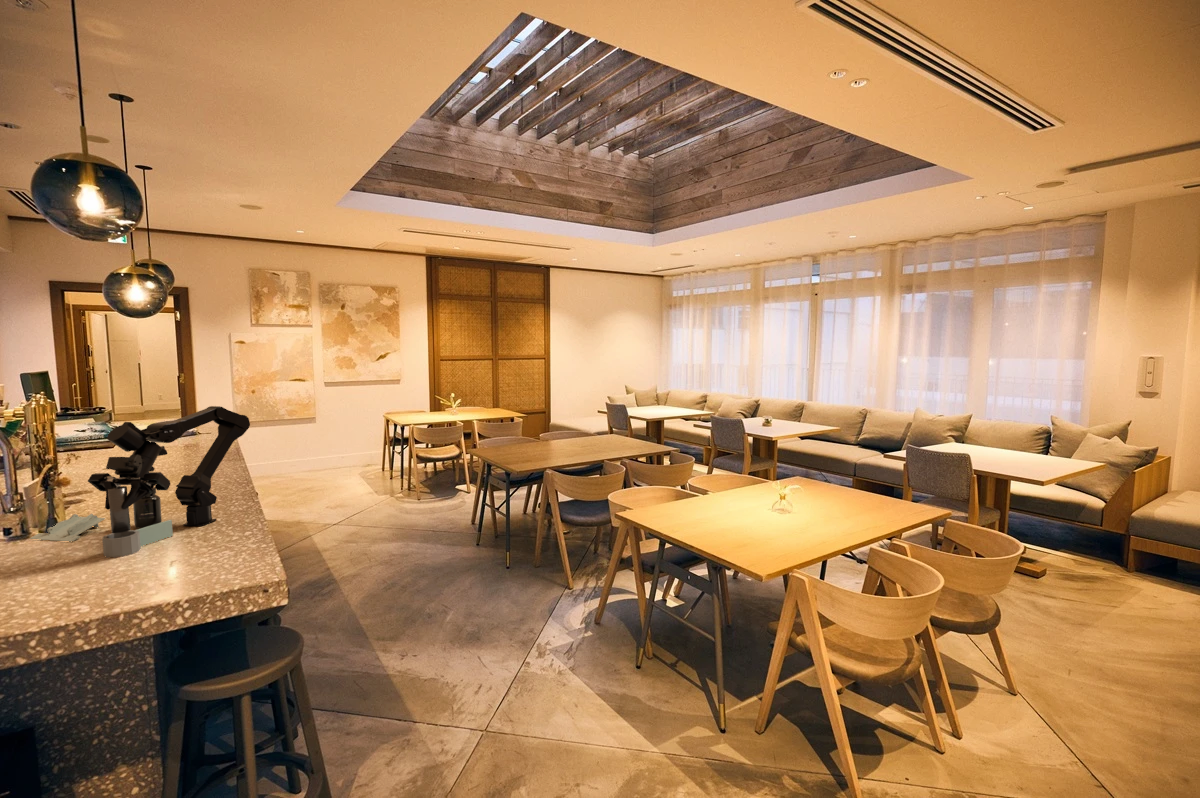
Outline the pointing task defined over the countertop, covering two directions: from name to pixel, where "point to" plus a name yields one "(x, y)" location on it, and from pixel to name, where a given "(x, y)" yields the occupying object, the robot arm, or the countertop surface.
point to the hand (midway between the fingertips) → (115, 508)
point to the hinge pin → (118, 509)
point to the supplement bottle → (147, 510)
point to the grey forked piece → (135, 539)
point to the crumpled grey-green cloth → (69, 528)
